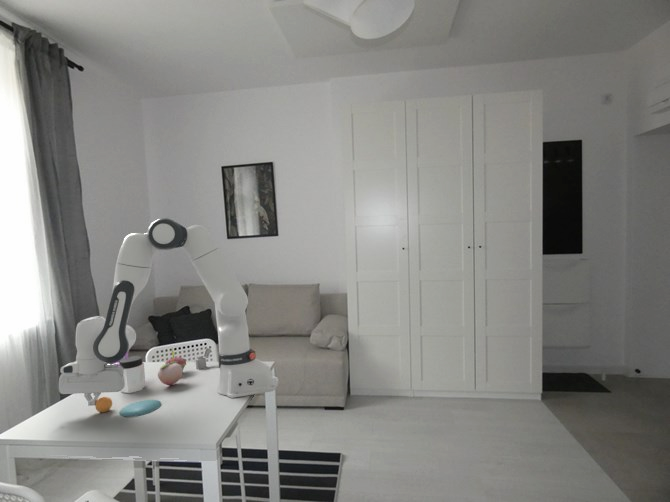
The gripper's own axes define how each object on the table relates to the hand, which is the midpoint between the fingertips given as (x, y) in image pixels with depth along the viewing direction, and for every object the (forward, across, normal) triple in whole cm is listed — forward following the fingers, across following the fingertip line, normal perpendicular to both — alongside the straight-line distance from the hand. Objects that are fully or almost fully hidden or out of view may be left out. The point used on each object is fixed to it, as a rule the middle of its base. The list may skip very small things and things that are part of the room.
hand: (93, 404), depth 137 cm
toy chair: (+3, +4, -30) cm, 31 cm away
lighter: (+1, -27, -41) cm, 49 cm away
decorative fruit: (+2, -20, -20) cm, 28 cm away
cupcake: (+2, -17, -34) cm, 38 cm away
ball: (0, -4, 0) cm, 4 cm away
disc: (+2, -16, 0) cm, 16 cm away
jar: (+2, -5, -20) cm, 21 cm away
